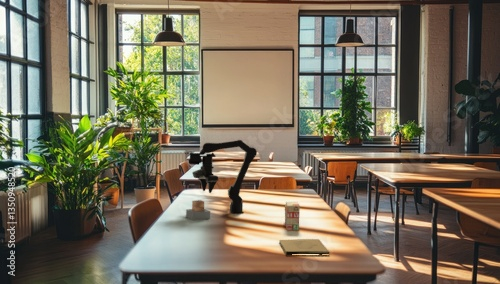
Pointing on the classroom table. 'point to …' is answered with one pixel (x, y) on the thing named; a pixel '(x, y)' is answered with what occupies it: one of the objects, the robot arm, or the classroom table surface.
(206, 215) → the base block
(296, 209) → the printed carton
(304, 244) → the olive notebook
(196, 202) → the terracotta cube
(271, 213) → the classroom table surface
